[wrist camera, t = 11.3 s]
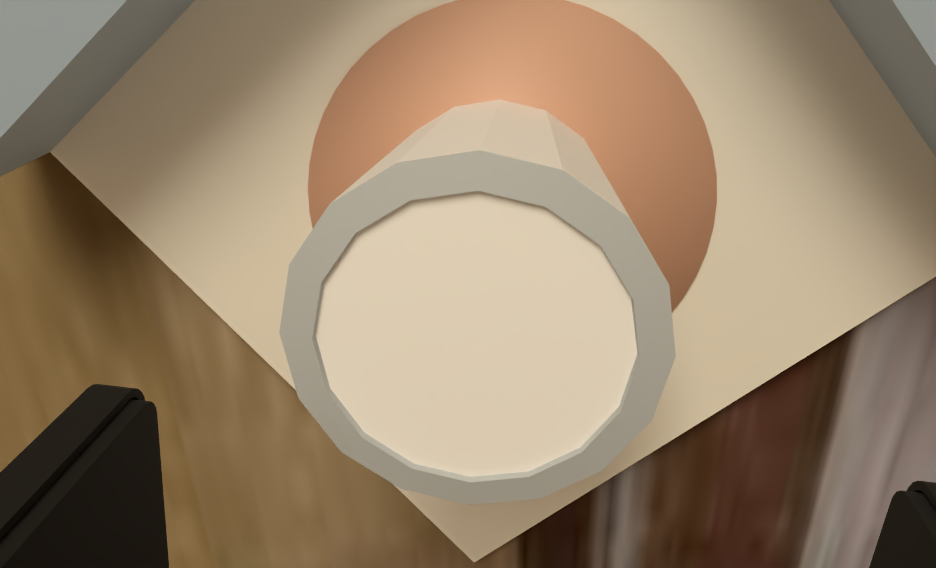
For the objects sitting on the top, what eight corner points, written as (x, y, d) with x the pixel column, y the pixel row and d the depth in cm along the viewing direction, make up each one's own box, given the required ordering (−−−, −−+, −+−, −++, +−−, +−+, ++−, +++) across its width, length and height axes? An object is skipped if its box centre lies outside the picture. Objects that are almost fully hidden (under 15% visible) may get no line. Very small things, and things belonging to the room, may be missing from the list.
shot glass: (503, 7, 19) (481, 58, 13) (695, 223, 21) (763, 365, 14) (302, 204, 21) (197, 331, 15) (489, 384, 23) (467, 568, 17)
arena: (1044, 193, 20) (1189, 274, 16) (475, 549, 26) (461, 684, 22) (579, -528, 16) (595, -707, 11) (13, 98, 21) (-130, 148, 17)
